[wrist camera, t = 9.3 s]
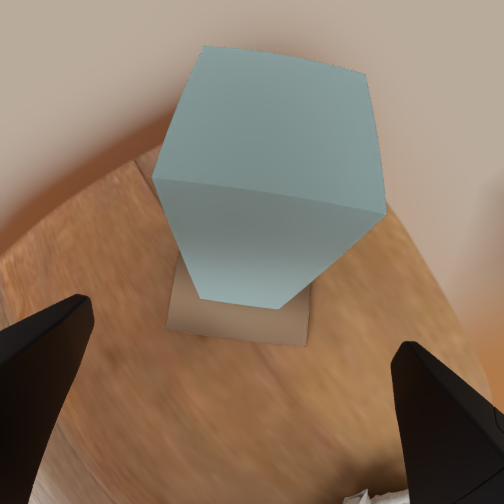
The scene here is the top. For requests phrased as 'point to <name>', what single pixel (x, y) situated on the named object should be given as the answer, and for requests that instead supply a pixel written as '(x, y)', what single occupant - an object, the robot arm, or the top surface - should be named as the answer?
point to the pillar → (268, 173)
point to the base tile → (236, 315)
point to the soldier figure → (379, 498)
